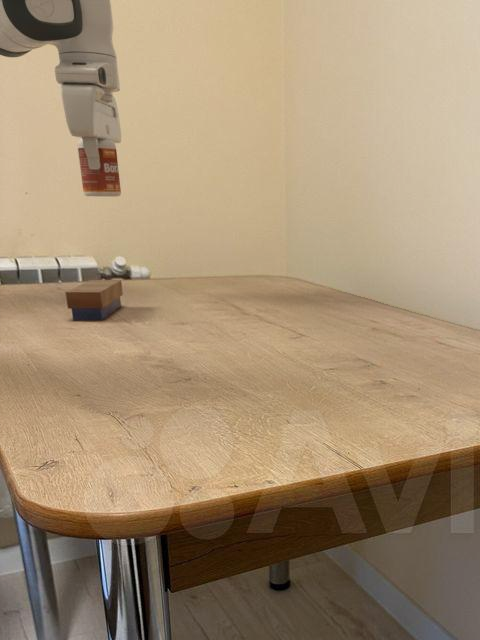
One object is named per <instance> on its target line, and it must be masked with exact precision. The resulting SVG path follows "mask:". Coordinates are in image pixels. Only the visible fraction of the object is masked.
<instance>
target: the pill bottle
mask: <svg viewBox="0 0 480 640" xmlns="http://www.w3.org/2000/svg"><path fill="white" fill-rule="evenodd" d="M106 129H107V134H108V135H110V134H109V133H110V130H109V126H108V125H106ZM98 145H99V146H98V151H99V157H100V158H101V165H102V168H101V169H100V170H92V169H90V168H89V165H88V158H87V155H86V152H85V149H84V147H83V140H82V138H80V139H79V140H78V141H77V152H78V159H79V160H78V161H79V166H80V167H79V168H80V176H81V184H82V192H83V195H84V196H86V197H120V196H121V194H122V191H121V190H122V188H121V179H120V171H119V163H118V153H117V145H116V143H114V142H113V141H111V140H110V139H109V138H107V139H98Z"/></svg>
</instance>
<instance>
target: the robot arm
mask: <svg viewBox="0 0 480 640" xmlns="http://www.w3.org/2000/svg"><path fill="white" fill-rule="evenodd" d="M113 20H114V19H113V12H112V3H111V0H0V56H1V57H6V58H19V57H22V56H25V55H27V54H28V53H30V52H31V51H33V50H37V49H40V48H42V47H44V46H47V45H51V46H54V47H55V48H56V49H57V53H58V59H59V62H58V64H57V65H56V66H55V67H54V75H55V82H56V83H57V84H59V85H60V94H61V100H62V106H63V107H62V108H63V111H64V116H65V121H66V125H67V129H68V131H69V133H70V135H71V136H72V137H75V138H79V139H82V140H83V147H84V149H85V152H86V155H87V158H88V165H89V168H90V169H92V170H100V169H101V168H102V165H101V158H100V157H99V151H98V146H99V145H98V139H107V138H109V139H110V140H111V141H113V142H114V143H115V144H120V143H121V142H122V130H121V123H120V122H121V121H120V115H119V109H118V103H117V99H116V97H115V96H114V93H116V92H117V93H118V92H119V91H121V86H120V85H121V84H120V77H119V70H118V69H119V67H118V57H117V53H116V50H115V48H114V44H113V34H114V21H113ZM106 125H108V126H109V130H110V133H109V134H110V135H108V134H107V129H106Z"/></svg>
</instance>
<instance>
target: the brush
mask: <svg viewBox="0 0 480 640" xmlns="http://www.w3.org/2000/svg"><path fill="white" fill-rule="evenodd" d="M122 283H123V282H122V280H121V279H88V281H85V282H84V283H81V284H79V285H77V286H75V287H73V288H71V289H69V290H67V291H65V297H66V298H65V299H66V304H67V309H69V310H70V309H71V314H72V315H71V316H72V321H103V320H105V319H106V318H108V317H109V316H110V315H111V314H113V313H114V312H116V311H117V310H119V308H121V307H122V302H121V297H123V295H124V294H123V293H124V292H123V285H122Z"/></svg>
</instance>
